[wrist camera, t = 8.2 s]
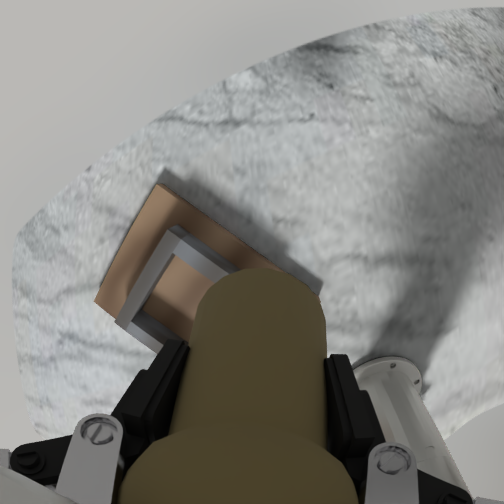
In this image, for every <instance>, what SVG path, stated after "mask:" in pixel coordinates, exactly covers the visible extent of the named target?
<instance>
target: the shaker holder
mask: <svg viewBox="0 0 504 504" xmlns="http://www.w3.org/2000/svg"><path fill="white" fill-rule="evenodd" d="M254 268H269V269H273V270H277V271H280V272H284V271H283V270H281V269H280V268H279V267H277V266H276V265H274V264H273V263H272V262H270V261H269V260H268V259H266V258H265V257H263V256H262V255H261V254H259V253H258V252H256V251H255V250H254V249H252V248H251V247H249V246H248V245H247V244H245V243H244V242H243V241H241V240H240V239H238V238H237V237H236V236H234V235H233V234H231V233H230V232H229V231H227V230H226V229H225V228H223V227H222V226H220V225H219V224H218V223H216V222H215V221H213V220H212V219H211V218H209V217H208V216H206V215H205V214H204V213H202V212H201V211H199V210H198V209H197V208H195V207H194V206H193V205H191V204H190V203H188V202H187V201H186V200H184V199H183V198H181V197H180V196H179V195H177V194H176V193H174V192H173V191H172V190H170V189H169V188H167V187H166V186H165V185H163V184H156V186H155V188H154V189H153V191H152V193H151V194H150V196H149V197H148V199H147V201H146V203H145V204H144V206H143V208H142V209H141V211H140V213H139V215H138V216H137V218H136V220H135V222H134V223H133V225H132V227H131V229H130V231H129V232H128V234H127V236H126V238H125V240H124V242H123V243H122V245H121V247H120V249H119V251H118V253H117V255H116V257H115V259H114V261H113V263H112V265H111V267H110V269H109V271H108V273H107V275H106V277H105V279H104V281H103V283H102V285H101V287H100V289H99V291H98V294H97V296H96V298H95V300H94V302H95V303H96V304H98V305H99V306H100V307H101V308H102V309H104V310H105V311H106V312H107V313H109V314H110V315H111V316H112V317H114V318H115V319H116V320H115V323H116V324H117V325H119V326H120V327H121V328H122V329H124V330H125V331H126V332H128V333H129V334H130V335H132V336H133V337H134V338H136V339H137V340H139V341H140V342H141V343H143V344H144V345H145V346H147V347H148V348H150V349H151V350H153V351H154V352H155V353H157V354H158V353H159V351H160V350H161V348H162V347H163V345H164V344H165V342H166V341H167V339H175V340H182V341H184V343H185V345H188V344H189V340H190V336H191V332H192V327H193V323H194V319H195V315H196V311H197V307H198V304H199V302H200V301H201V299H202V298H203V296H204V295H205V293H206V292H207V290H208V288H210V287H211V286H212V285H214V284H215V283H216V282H217V281H219V280H220V279H221V278H223V277H224V276H226V275H229V274H232V273H235V272H237V271H240V270H243V269H254ZM284 273H285V272H284ZM313 294H314V295H315V296H316V297H317V299H318V300H319V301H320V298H319V296H317V295H316V294H315V293H313ZM320 303H321V301H320Z"/></svg>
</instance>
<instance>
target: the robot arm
mask: <svg viewBox="0 0 504 504" xmlns="http://www.w3.org/2000/svg"><path fill="white" fill-rule="evenodd" d="M189 350H190V347H189V346H188V345H185V343H184V341H182V340H175V339H167V341H166V342H165V344H164V345H163V347H162V348H161V350H160V351H159V353H158V355H157V356H156V358H155V359H154V361H153V362H152V364H151V365H150V367H149V369H148V370H144V369H142V370H140V371H139V373H138V374H137V376H136V377H135V379H134V380H133V382H132V383H131V385H130V386H129V388H128V389H127V391H126V392H125V394H124V395H123V397H122V398H121V400H120V401H119V403H118V404H117V406H116V407H115V409H114V410H113V412H112V413H111V415H107V414H92V415H88V416H86V417H84V418H83V419H81V420H80V421H79V422H78V424H77V426H76V428H75V430H74V433H73V435H69V436H64V437H60V438H55V439H50V440H45V441H39V442H34V443H29V444H24V445H21V446H19V447H17V448H16V449H15V450H14V451H13V452H10V450H9V449H0V504H117V498H118V489H119V487H120V485H121V483H122V481H123V479H124V477H125V475H126V473H127V471H128V470H129V468H130V467H131V466H132V465H133V464H134V463H135V461H136V460H137V459H138V458H139V457H140V456H141V455H142V454H143V453H144V451H145V450H146V449H147V448H148V447H149V446H150V445H151V444H152V443H153V442H154V441H157V440H160V439H162V438H165V437H167V436H168V434H169V429H170V424H171V420H172V415H173V410H174V405H175V401H176V396H177V392H178V387H179V383H180V378H181V374H182V371H183V368H184V365H185V362H186V359H187V356H188V353H189ZM324 367H325V378H326V390H327V402H328V442H327V452H329V453H330V454H331V455H332V456H334V457H335V458H336V459H338V460H339V461H340V462H341V463H342V464H343V466H344V467H345V469H346V471H347V472H348V474H349V476H350V478H351V479H352V481H353V484H354V487H355V490H356V493H357V496H358V500H359V504H504V502H503V501H497V500H491V499H486V498H480V497H476V498H475V499H474V498H473V497H472V495H471V494H470V491H469V490H468V487H467V486H466V484H465V482H464V480H463V478H462V476H461V474H460V472H459V470H458V468H457V466H456V464H455V462H454V460H453V458H452V456H451V454H450V452H449V450H448V448H447V446H446V444H445V442H444V440H443V438H442V436H441V434H440V432H439V431H438V429H437V427H436V425H435V423H434V421H433V419H432V417H431V416H430V414H429V412H428V410H427V408H426V407H425V405H424V403H423V401H422V399H421V398H420V396H419V394H420V391H421V387H422V378H421V374H420V372H419V370H418V369H417V367H416V366H415V365H414V364H413V363H412V362H411V361H409V360H407V359H405V358H402V357H395V356H393V357H382V358H377V359H374V360H371V361H369V362H366V363H364V364H362V365H360V366H359V367H357V368H356V369H354V370H353V369H352V367H351V364H350V361H349V358H348V356H347V355H346V354H331V355H330V357H329V358H325V359H324Z"/></svg>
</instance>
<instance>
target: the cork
mask: <svg viewBox="0 0 504 504" xmlns="http://www.w3.org/2000/svg"><path fill="white" fill-rule="evenodd" d="M188 346H189V347H190V350H189V353H188V356H187V359H186V362H185V365H184V368H183V371H182V374H181V378H180V383H179V387H178V392H177V396H176V401H175V405H174V410H173V415H172V420H171V424H170V429H169V434H168V436H167V437H165V438H162V439H160V440H157V441H154V442H153V443H152V444H151V445H150V446H149V447H148V448H147V449H146V450H145V451H144V453H143V454H142V455H141V456H140V457H139V458H138V459H137V460H136V461H135V463H134V464H133V465H132V466H131V467H130V468H129V470H128V471H127V473H126V475H125V477H124V479H123V481H122V483H121V485H120V487H119V489H118V498H117V504H359V500H358V496H357V493H356V490H355V487H354V484H353V481H352V479H351V478H350V476H349V474H348V472H347V471H346V469H345V467H344V466H343V464H342V463H341V462H340V461H339V460H338V459H336V458H335V457H334V456H332V455H331V454H330V453H329V452H327V442H328V402H327V390H326V378H325V367H324V359H325V358H327V342H326V321H325V316H324V313H323V310H322V307H321V304H320V301H319V300H318V299H317V297H316V296H315V295H314V294H313V292H312V291H311V290H310V288H309V287H308V286H307V285H306V284H304V283H302V282H301V281H299V280H298V279H296V278H295V277H293V276H292V275H290V274H288V273H284V272H280V271H277V270H273V269H269V268H254V269H243V270H240V271H237V272H235V273H232V274H229V275H226V276H224V277H223V278H221V279H220V280H219V281H217V282H216V283H215V284H214V285H212V286H211V287H210V288H208V290H207V292H206V293H205V295H204V296H203V298H202V299H201V301H200V302H199V304H198V307H197V311H196V315H195V319H194V323H193V327H192V332H191V336H190V340H189V344H188Z"/></svg>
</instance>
